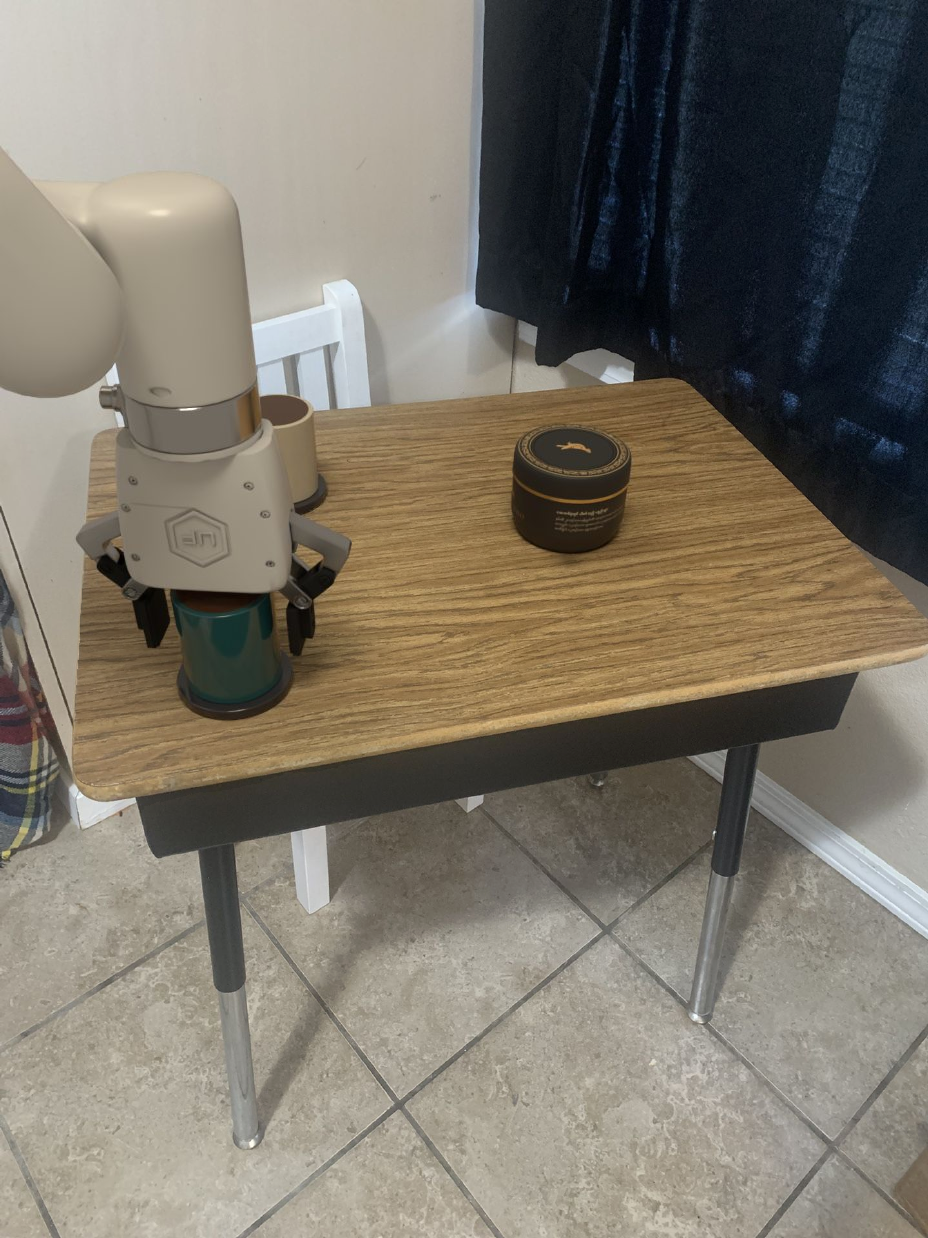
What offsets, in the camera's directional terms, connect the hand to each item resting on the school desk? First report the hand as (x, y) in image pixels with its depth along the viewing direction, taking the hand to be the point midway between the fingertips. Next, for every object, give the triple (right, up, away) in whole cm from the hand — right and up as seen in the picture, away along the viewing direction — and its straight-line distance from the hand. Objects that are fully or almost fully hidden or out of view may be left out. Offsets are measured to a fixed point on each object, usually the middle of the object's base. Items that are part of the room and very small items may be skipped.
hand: (229, 639), depth 67 cm
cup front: (0, -2, +3) cm, 3 cm away
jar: (+25, +9, +20) cm, 33 cm away
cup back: (-1, +14, +23) cm, 27 cm away
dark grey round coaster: (-1, +13, +22) cm, 26 cm away
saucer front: (0, -3, +2) cm, 4 cm away
